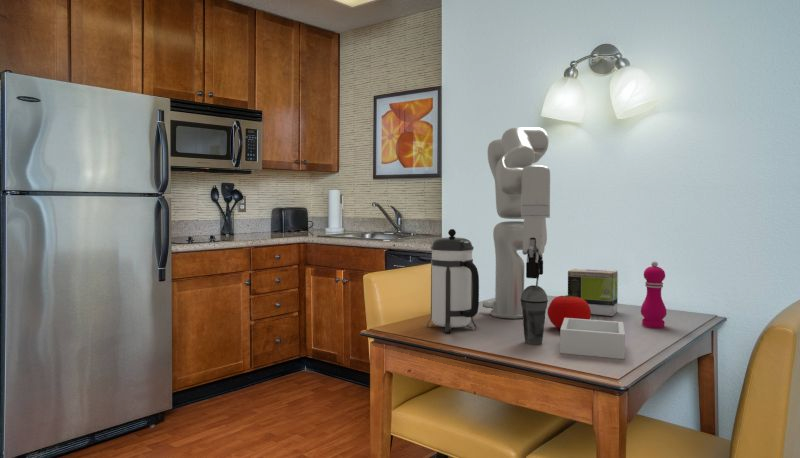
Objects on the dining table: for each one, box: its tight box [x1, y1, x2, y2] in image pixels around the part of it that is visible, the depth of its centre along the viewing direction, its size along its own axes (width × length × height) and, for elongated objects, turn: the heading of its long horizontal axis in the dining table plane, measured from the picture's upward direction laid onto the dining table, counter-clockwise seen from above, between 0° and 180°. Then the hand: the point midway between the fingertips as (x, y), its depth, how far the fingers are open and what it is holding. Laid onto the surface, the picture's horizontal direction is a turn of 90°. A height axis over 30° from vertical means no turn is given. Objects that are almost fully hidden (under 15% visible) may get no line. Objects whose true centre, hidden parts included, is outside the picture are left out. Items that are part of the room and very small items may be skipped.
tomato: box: [547, 293, 592, 329], centre depth 162 cm, size 11×12×10 cm
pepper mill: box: [640, 261, 668, 329], centre depth 166 cm, size 7×7×20 cm
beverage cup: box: [520, 269, 549, 346], centre depth 146 cm, size 7×7×20 cm
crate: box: [559, 318, 626, 360], centre depth 140 cm, size 15×15×6 cm
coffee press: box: [426, 228, 480, 334], centre depth 161 cm, size 17×16×30 cm
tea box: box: [567, 268, 619, 317], centre depth 188 cm, size 15×10×15 cm
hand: (534, 276), depth 145 cm, fingers open, 9 cm apart
